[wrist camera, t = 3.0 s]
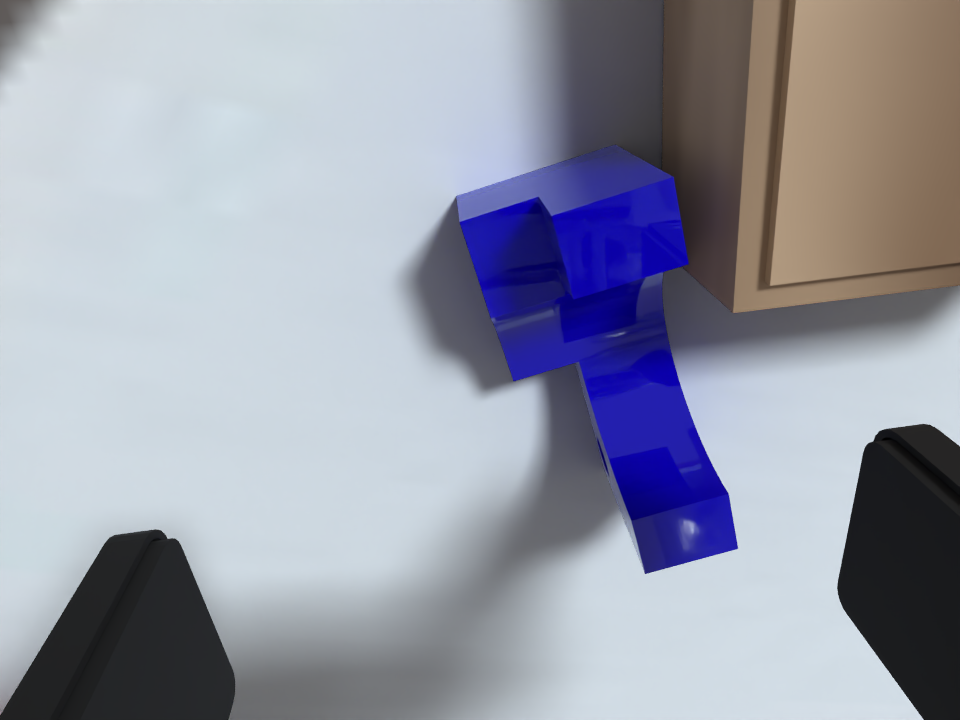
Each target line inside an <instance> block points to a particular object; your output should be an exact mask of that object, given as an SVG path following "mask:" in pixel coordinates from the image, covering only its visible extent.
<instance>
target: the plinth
mask: <svg viewBox="0 0 960 720" xmlns="http://www.w3.org/2000/svg"><path fill="white" fill-rule="evenodd" d="M662 171H664V172H666V173H667V174H669V175H671V176H673V177H674V182H675V188H676V194H677V199H678V205H679V211H680V217H681V223H682V228H683V234H684V240H685V246H686V251H687V257H688V263H689V264H688V265H685V266H682V267H683V268H684V269H685V270H686V271H687V272H688V273H689V274H690V275H692V276H693V277H694V278H695V279H696V280H697V281H698V282H699V283H700V284H701V285H703V286H704V287H705V288H706V289H707V290H708V291H709V292H710V293H711V294H712V295H714V296H715V297H716V298H717V299H718V300H719V301H720V302H721V303H722V304H723V305H725V306H726V307H727V308H728V309H729V310H730V311H731V312H732V313H739V312H747V311H755V310H764V309H772V308H780V307H788V306H796V305H804V304H812V303H820V302H828V301H837V300H845V299H853V298H861V297H869V296H877V295H885V294H893V293H901V292H910V291H918V290H926V289H934V288H942V287H950V286H958V285H960V0H664V36H663V113H662Z"/></svg>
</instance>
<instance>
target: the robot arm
mask: <svg viewBox="0 0 960 720" xmlns="http://www.w3.org/2000/svg"><path fill="white" fill-rule="evenodd" d="M837 589H838V595H839V599H840V602H841V604H842V607H843V609H844V610H845V612H846V613H847V615H848V616H849V618H850V619H851V620H852V622H853V623H854V624H855V626H856V627H857V629H858V630H859V631H860V633H861V634H862V635H863V637H864V638H865V640H866V641H867V642H868V644H869V645H870V646H871V648H872V649H873V650H874V652H875V653H876V655H877V656H878V657H879V659H880V660H881V661H882V663H883V664H884V666H885V667H886V668H887V670H888V671H889V672H890V674H891V675H892V677H893V678H894V679H895V681H896V682H897V683H898V685H899V686H900V688H901V689H902V690H903V692H904V693H905V694H906V696H907V697H908V699H909V700H910V701H911V703H912V704H913V705H914V707H915V708H916V710H917V711H918V712H919V714H920V715H921V716H922V718H923V719H924V720H960V446H959V445H957V444H956V443H955V442H953V441H952V440H951V439H950V438H948V437H947V436H946V435H944V434H943V433H942V432H941V431H939V430H938V429H936V428H935V427H933V426H931V425H927V424H920V425H912V426H905V427H898V428H891V429H884V430H882V431H879V432H878V434H877V435H876V436H875V439H874V441H873V442H871V443H868V444H867V445H866V447H865V449H864V452H863V457H862V462H861V467H860V473H859V478H858V483H857V488H856V493H855V498H854V503H853V508H852V513H851V518H850V523H849V528H848V533H847V539H846V544H845V549H844V554H843V559H842V564H841V569H840V574H839V579H838V587H837ZM234 695H235V678H234V673H233V669H232V667H231V665H230V662H229V660H228V657H227V655H226V653H225V650H224V648H223V645H222V643H221V640H220V638H219V636H218V633H217V631H216V628H215V626H214V624H213V621H212V619H211V616H210V614H209V612H208V609H207V607H206V604H205V602H204V600H203V597H202V595H201V592H200V590H199V588H198V585H197V583H196V580H195V578H194V576H193V573H192V571H191V568H190V566H189V563H188V561H187V559H186V556H185V554H184V551H183V549H182V547H181V545H180V543H179V541H177V540H176V539H167V537H166V535H165V534H164V533H163V532H162V531H161V530H149V531H141V532H134V533H127V534H120V535H114V536H112V537H110V538H109V539H108V540H107V541H106V543H105V544H104V546H103V547H102V549H101V550H100V552H99V554H98V555H97V557H96V559H95V560H94V562H93V564H92V565H91V567H90V569H89V570H88V572H87V574H86V575H85V577H84V578H83V580H82V582H81V583H80V585H79V587H78V588H77V590H76V592H75V593H74V595H73V597H72V598H71V600H70V602H69V603H68V605H67V606H66V608H65V610H64V611H63V613H62V615H61V616H60V618H59V620H58V621H57V623H56V625H55V626H54V628H53V630H52V631H51V633H50V634H49V636H48V638H47V639H46V641H45V643H44V644H43V646H42V648H41V649H40V651H39V653H38V654H37V656H36V658H35V659H34V661H33V662H32V664H31V666H30V667H29V669H28V671H27V672H26V674H25V676H24V677H23V679H22V681H21V682H20V684H19V686H18V687H17V689H16V690H15V692H14V694H13V695H12V697H11V699H10V700H9V702H8V704H7V705H6V707H5V709H4V710H3V712H2V714H1V715H0V720H228V719H229V715H230V712H231V708H232V704H233V700H234Z"/></svg>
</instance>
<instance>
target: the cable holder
mask: <svg viewBox="0 0 960 720" xmlns="http://www.w3.org/2000/svg"><path fill="white" fill-rule="evenodd" d="M456 198H457V206H458V214H459V222H460V225H461V228H462V231H463V234H464V237H465V240H466V244H467V247H468V250H469V253H470V256H471V259H472V262H473V265H474V268H475V271H476V274H477V277H478V280H479V283H480V286H481V290H482V293H483V296H484V299H485V302H486V305H487V308H488V311H489V314H490V317H491V320H492V322H493V324H494V327H495V329H496V332H497V335H498V337H499V340H500V343H501V346H502V348H503V351H504V354H505V357H506V360H507V363H508V366H509V369H510V372H511V375H512V378H513V381H516V380H520V379H523V378H526V377H530V376H533V375H536V374H540V373H543V372H546V371H550V370H553V369H556V368H560V367H563V366H566V365H570V364H573V363H575V365H576V368H577V372H578V376H579V379H580V383H581V387H582V390H583V394H584V398H585V401H586V405H587V409H588V412H589V416H590V420H591V423H592V427H593V431H594V434H595V438H596V442H597V445H598V449H599V453H600V456H601V460H602V464H603V467H604V471H605V473H606V476H607V478H608V481H609V483H610V486H611V488H612V491H613V493H614V496H615V499H616V501H617V504H618V506H619V509H620V511H621V514H622V516H623V519H624V521H625V524H626V527H627V529H628V532H629V534H630V537H631V539H632V542H633V544H634V547H635V549H636V552H637V555H638V557H639V560H640V562H641V565H642V567H643V570H644V572H645V574H647V573H651V572H654V571H658V570H662V569H665V568H669V567H673V566H676V565H680V564H684V563H687V562H691V561H695V560H698V559H702V558H706V557H709V556H713V555H717V554H720V553H724V552H728V551H731V550H735V549H738V546H737V540H736V534H735V528H734V523H733V517H732V511H731V505H730V500H729V494H728V492H727V490H726V489H725V487H724V486H723V484H722V482H721V480H720V479H719V477H718V475H717V473H716V471H715V469H714V467H713V466H712V464H711V461H710V459H709V457H708V455H707V453H706V451H705V449H704V447H703V444H702V442H701V440H700V437H699V435H698V433H697V430H696V428H695V425H694V423H693V420H692V417H691V415H690V412H689V409H688V406H687V404H686V401H685V398H684V395H683V392H682V389H681V386H680V382H679V379H678V376H677V372H676V368H675V365H674V361H673V357H672V353H671V349H670V344H669V340H668V335H667V330H666V324H665V318H664V310H663V299H662V280H663V273H664V272H665V271H668V270H672V269H675V268H678V267H681V266H685V265H688V264H689V263H688V257H687V251H686V246H685V240H684V234H683V228H682V223H681V217H680V211H679V205H678V199H677V194H676V188H675V182H674V177H673V176H671V175H669V174H667V173H666V172H664V171H662V170H660V169H658V168H657V167H655V166H653V165H651V164H649V163H648V162H646V161H644V160H642V159H640V158H639V157H637V156H635V155H633V154H631V153H630V152H628V151H626V150H624V149H622V148H621V147H619V146H617V145H612V146H609V147H606V148H603V149H600V150H597V151H594V152H591V153H588V154H585V155H581V156H578V157H575V158H572V159H569V160H566V161H563V162H560V163H557V164H554V165H551V166H548V167H545V168H542V169H538V170H535V171H532V172H529V173H526V174H523V175H520V176H517V177H514V178H511V179H508V180H505V181H502V182H498V183H495V184H492V185H489V186H486V187H483V188H480V189H477V190H474V191H471V192H468V193H465V194H462V195H458V196H456Z"/></svg>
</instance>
